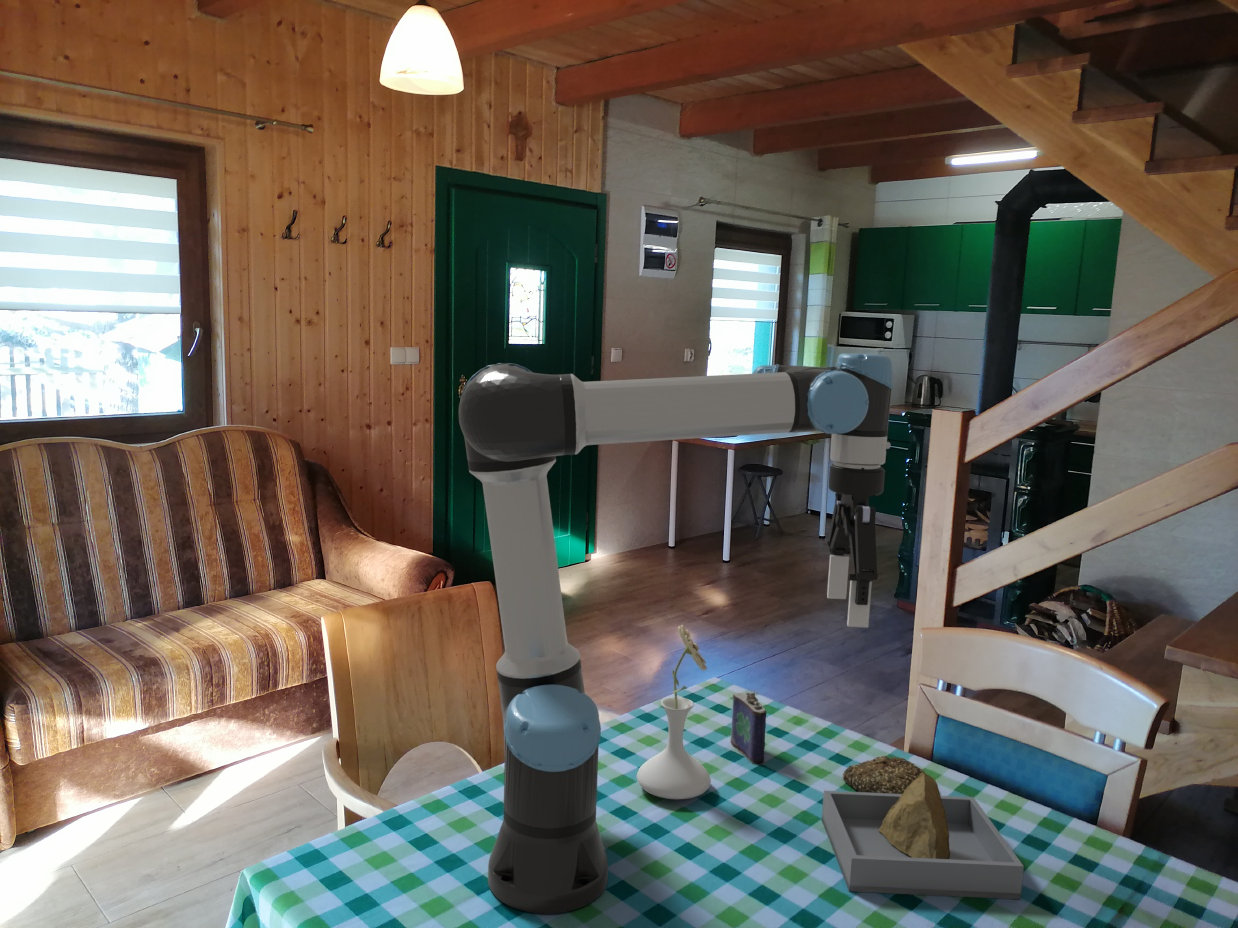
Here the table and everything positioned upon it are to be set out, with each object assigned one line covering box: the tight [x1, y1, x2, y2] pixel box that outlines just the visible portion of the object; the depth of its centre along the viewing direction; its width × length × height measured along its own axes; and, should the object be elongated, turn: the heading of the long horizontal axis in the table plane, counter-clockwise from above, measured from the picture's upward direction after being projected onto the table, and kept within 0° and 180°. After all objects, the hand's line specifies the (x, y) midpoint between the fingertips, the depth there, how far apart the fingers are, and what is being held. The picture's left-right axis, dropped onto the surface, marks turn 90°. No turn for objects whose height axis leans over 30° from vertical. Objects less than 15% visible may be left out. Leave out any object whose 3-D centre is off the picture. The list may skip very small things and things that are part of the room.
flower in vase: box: [636, 624, 712, 800], centre depth 142 cm, size 13×11×25 cm
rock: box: [879, 772, 950, 859], centre depth 126 cm, size 11×9×10 cm
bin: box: [821, 790, 1025, 900], centre depth 126 cm, size 22×18×4 cm
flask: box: [730, 690, 767, 766], centre depth 156 cm, size 9×3×11 cm, turn 21°
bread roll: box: [842, 755, 926, 794], centre depth 146 cm, size 13×12×5 cm
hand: (846, 611), depth 133 cm, fingers open, 13 cm apart
